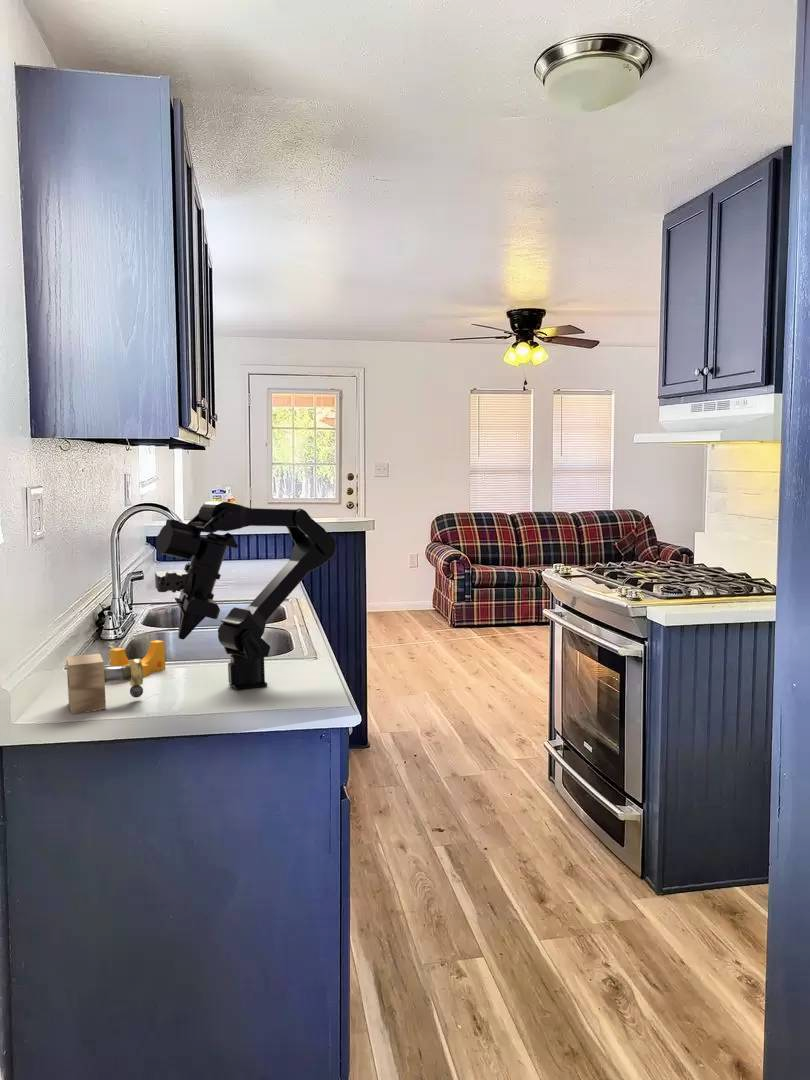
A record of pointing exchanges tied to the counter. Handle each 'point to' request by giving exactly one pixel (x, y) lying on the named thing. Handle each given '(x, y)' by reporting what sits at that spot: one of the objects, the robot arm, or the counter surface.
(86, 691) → the oak block
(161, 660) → the pipe clamp
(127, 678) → the tan and grey piece
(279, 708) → the counter surface
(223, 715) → the counter surface
